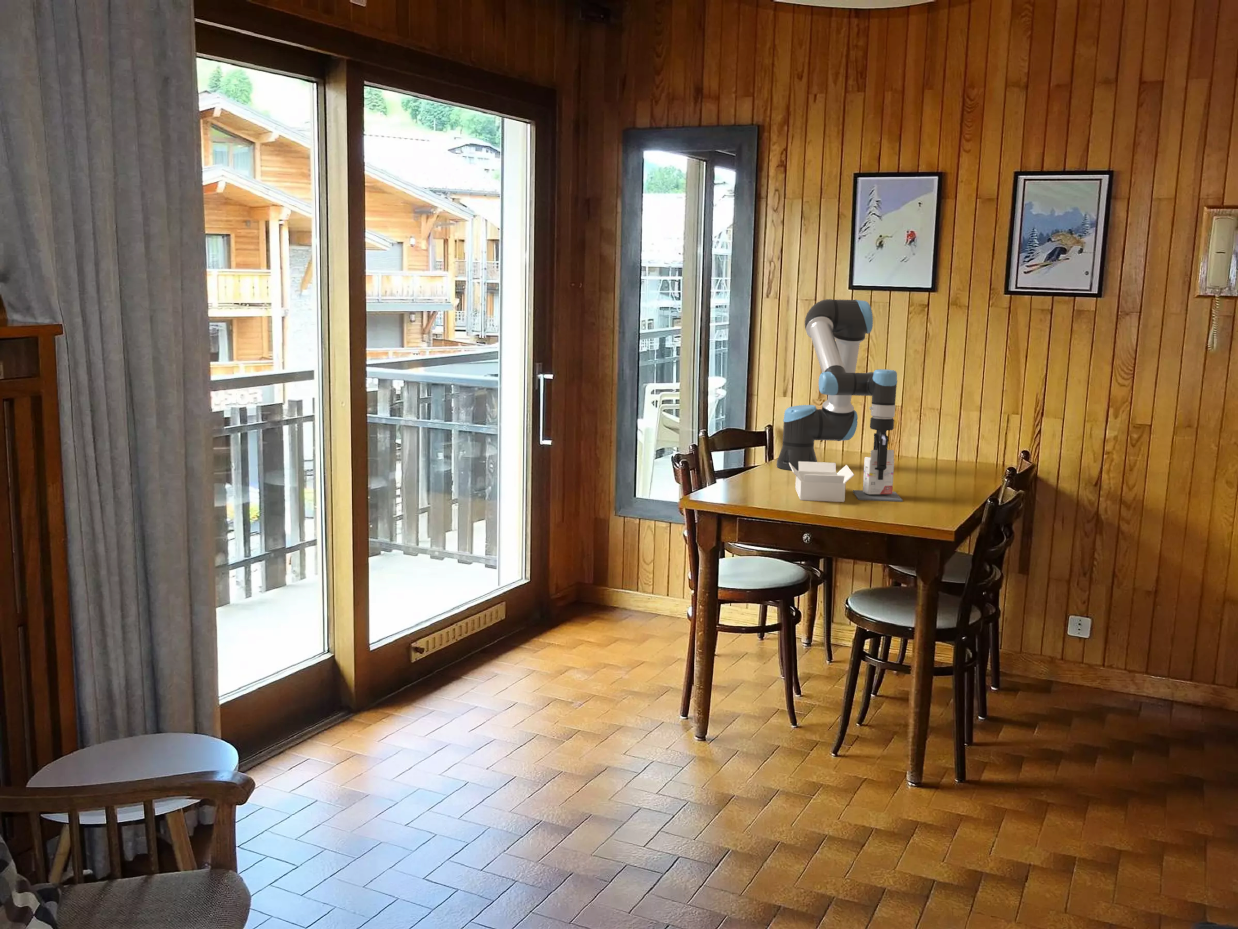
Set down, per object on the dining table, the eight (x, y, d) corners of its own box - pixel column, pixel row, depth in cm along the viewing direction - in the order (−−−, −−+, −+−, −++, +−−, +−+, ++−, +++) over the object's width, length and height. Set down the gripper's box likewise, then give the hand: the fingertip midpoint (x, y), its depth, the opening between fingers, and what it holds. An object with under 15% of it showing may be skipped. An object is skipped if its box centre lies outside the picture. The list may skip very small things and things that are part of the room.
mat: (852, 491, 374) (852, 490, 374) (895, 493, 373) (895, 491, 373) (858, 499, 361) (858, 498, 361) (902, 501, 360) (902, 499, 360)
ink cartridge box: (886, 491, 370) (889, 447, 368) (892, 494, 365) (895, 449, 363) (861, 491, 369) (864, 447, 366) (867, 494, 364) (870, 450, 361)
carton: (786, 486, 380) (788, 460, 379) (844, 489, 379) (845, 463, 377) (792, 501, 355) (793, 473, 354) (854, 503, 354) (855, 476, 352)
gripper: (866, 413, 372) (862, 481, 376) (875, 420, 354) (870, 492, 358) (889, 414, 372) (884, 482, 376) (899, 421, 353) (894, 493, 357)
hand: (877, 487), depth 367 cm, fingers closed on ink cartridge box, 6 cm apart
